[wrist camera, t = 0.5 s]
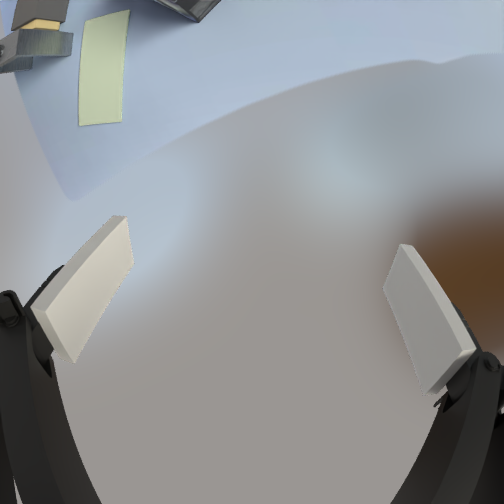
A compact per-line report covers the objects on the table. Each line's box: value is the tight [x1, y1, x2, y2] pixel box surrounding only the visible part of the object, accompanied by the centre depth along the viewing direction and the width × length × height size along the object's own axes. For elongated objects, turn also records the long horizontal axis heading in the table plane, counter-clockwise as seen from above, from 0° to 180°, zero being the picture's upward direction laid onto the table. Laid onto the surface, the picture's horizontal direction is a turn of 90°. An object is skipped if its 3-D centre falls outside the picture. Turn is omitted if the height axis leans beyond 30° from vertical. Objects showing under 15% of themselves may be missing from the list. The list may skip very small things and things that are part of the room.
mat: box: [79, 9, 130, 126], centre depth 29 cm, size 18×8×1 cm, turn 175°
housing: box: [0, 28, 73, 74], centre depth 20 cm, size 4×11×13 cm, turn 85°
